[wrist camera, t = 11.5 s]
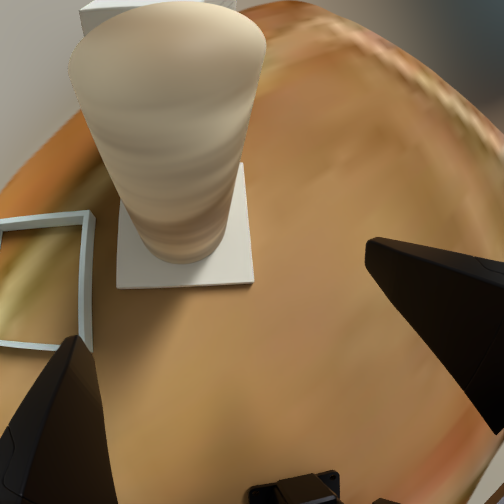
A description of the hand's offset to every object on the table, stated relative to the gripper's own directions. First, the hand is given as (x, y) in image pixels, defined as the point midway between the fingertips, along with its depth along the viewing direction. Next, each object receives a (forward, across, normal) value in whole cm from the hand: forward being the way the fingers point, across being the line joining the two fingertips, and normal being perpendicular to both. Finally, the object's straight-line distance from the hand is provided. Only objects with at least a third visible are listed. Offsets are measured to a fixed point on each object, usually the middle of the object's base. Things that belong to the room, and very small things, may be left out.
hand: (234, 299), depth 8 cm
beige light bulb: (+13, 0, +2) cm, 13 cm away
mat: (+13, 0, +3) cm, 14 cm away
